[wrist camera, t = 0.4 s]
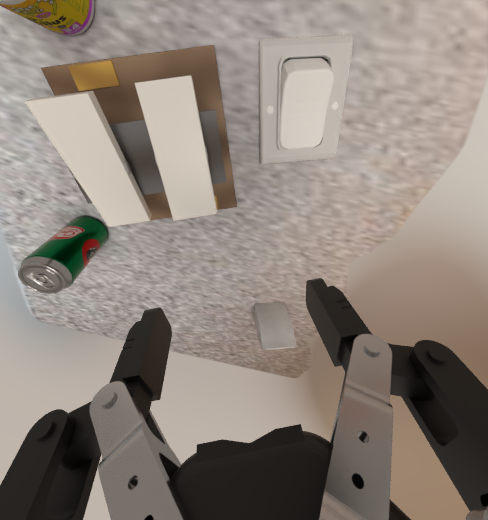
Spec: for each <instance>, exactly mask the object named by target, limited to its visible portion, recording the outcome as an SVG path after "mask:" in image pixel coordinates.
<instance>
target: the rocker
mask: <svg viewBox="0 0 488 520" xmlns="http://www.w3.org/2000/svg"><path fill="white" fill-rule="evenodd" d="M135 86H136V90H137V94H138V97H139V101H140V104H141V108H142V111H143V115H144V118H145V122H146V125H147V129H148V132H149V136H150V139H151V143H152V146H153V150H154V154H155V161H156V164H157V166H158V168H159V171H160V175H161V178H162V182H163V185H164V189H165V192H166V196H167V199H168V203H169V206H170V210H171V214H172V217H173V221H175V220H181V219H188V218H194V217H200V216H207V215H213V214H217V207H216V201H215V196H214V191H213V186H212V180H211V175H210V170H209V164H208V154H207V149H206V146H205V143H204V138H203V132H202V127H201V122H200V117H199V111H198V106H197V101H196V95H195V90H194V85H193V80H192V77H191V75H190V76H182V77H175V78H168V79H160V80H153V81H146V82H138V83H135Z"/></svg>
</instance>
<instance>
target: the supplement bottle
mask: <svg viewBox="0 0 488 520" xmlns="http://www.w3.org/2000/svg"><path fill="white" fill-rule="evenodd" d="M0 6H2V7H4V8H6V9H8V10H10V11H12V12H14V13H16V14H18V15H20V16H23V17H25V18H27V19H28V20H31V21H33V22H35V23H37V24H39V25H41V26H43V27H45V28H47V29H49V30H52V31H54V32H56V33H59V34H62V35H67V36H74V35H78V34H81V33H83V32H84V31H85V30H86V29H87V28H88V27H89V25H90V24H91V22H92V19H93V15H94V0H0Z"/></svg>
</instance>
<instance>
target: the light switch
mask: <svg viewBox="0 0 488 520" xmlns="http://www.w3.org/2000/svg"><path fill="white" fill-rule="evenodd" d="M352 48H353V37H352V36H351V35H350V36H322V37H296V38H269V39H260V41H259V127H260V163H261V164H272V163H285V162H297V161H309V160H321V159H332V158H334V157H335V155H336V152H337V146H338V139H339V133H340V126H341V120H342V113H343V107H344V100H345V94H346V87H347V81H348V74H349V68H350V61H351V54H352ZM312 57H323V58H325V59H327V60H328V63H327V62H326V61H325V60H323V59H322V58H312ZM291 58H307V59H291ZM286 59H290V60H288V61H287V62H285V63H284V64H283V61H284V60H286ZM282 64H283V65H282ZM281 67H282V68H281Z"/></svg>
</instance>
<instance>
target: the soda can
mask: <svg viewBox="0 0 488 520" xmlns="http://www.w3.org/2000/svg"><path fill="white" fill-rule="evenodd" d="M107 238H108V233H107V230H106V228H105V227H104V226H103V225H102V224H101V223H100V222H99V221H97V220H95V219H93V218H90V217H78V218H75V219H74V220H73V221H71V222H70V223H69V224H68V225H66V226H65V227H64V228H63V229H61V230H60V231H59V232H58V233H56V234H55V235H54V236H53V237H51V238H50V239H49V240H48V241H46V242H45V243H44V244H43V245H41V246H40V247H39V248H38V249H36V250H35V251H34V252H33V253H31V254H30V255H29V256H28V257H26V258H25V259H24V260H23V261H22V263H21V268H20V269H19V271H18V276H19V278H20V280H21V281H22V283H23V284H25V285H26V286H27V287H29V288H31V289H32V290H35V291H38V292H41V293H48V294H51V293H57V292H60V291H61V290H63V289H65V288H67V287H69V286H70V285H71V284H72V283H73V282H74V281H75V279H76V278H77V277H78V276H79V274H80V273H81V272H82V271H83V269H84V268H85V267H86V266H87V264H88V263H89V262H90V261H91V259H92V258H93V257H94V256H95V254H96V253H97V252H98V251H99V249H100V248H101V247H102V246H103V244H104V243H105V242H106V240H107Z"/></svg>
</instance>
